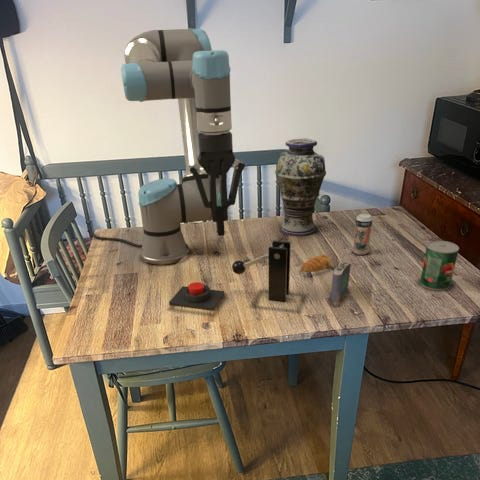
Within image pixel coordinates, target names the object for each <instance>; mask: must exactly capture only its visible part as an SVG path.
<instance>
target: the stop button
mask: <svg viewBox="0 0 480 480" xmlns="http://www.w3.org/2000/svg"><path fill="white" fill-rule="evenodd" d="M204 285H205V284H204V283H203V282H201V281H195V282H194V281H193V282H192V283H190V284H188V286H187V287H189V293H190V294H193V295H197V294H202V293H204Z"/></svg>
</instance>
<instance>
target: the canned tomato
mask: <svg viewBox="0 0 480 480" xmlns="http://www.w3.org/2000/svg"><path fill="white" fill-rule="evenodd" d="M459 250H460V247H459V246H458V245H457V244H456V243H454V242H451V241H446V240H432V241H429V242H427V244H426V249H425V253H424V259H423V264H422V269H421V274H420V279H419V284H420V285H421V286H422V287H423V288H425V289H428V290H432V291H446V290H448V289H449V288H451V284H452V280H453V277H454V272H455V267H456V262H457V258H458V255H459Z"/></svg>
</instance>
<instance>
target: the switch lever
mask: <svg viewBox="0 0 480 480" xmlns="http://www.w3.org/2000/svg"><path fill="white" fill-rule="evenodd" d="M277 247H281V248H285V246H284V244H282V245H279V246H277ZM266 260H269V252H268V253H266V254H263V255H261V256H258V257H256V258H253V259H250V260H248V261H245V262H244V261H243V260H236V261H234V262H233V263H232V265H231V270H232V272H233V273H234V274H236V275H243V274H244V273H245V272H246V270H247V268H248V267H251V266H253V265H256V264H259V263H260V262H264V261H266Z"/></svg>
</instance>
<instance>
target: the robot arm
mask: <svg viewBox="0 0 480 480" xmlns="http://www.w3.org/2000/svg"><path fill="white" fill-rule="evenodd" d="M229 58H230V55H229V53H228V51H226V50H223V49H221V50H219V49H217V50H215V49H214V50H213V49H212V44H211V41H210V38H209V35H208V34H207V32H206V31H205V30H204V29H202V28H191V27H187V28H175V29H174V28H173V29H151V30H147V31H144V32H142V33H140V34H137V35H136V36H134V37H133V38H132V39H130V41H128V43H127V44H126V47H125V50H124V64H122V65H121V68H120V70H121V79H122V87H123V91H124V98H125V100H127V101H128V102H140V103H142V102H149V101H163V100H177V104H178V112H179V120H180V128H181V130H180V131H181V137H182V138H181V139H182V146H183V153H184V154H183V155H184V162H185V171H186V172H185V173H184V175H182V179H181V180H182V183H177V181H176V180H175V179H174V178H160V179H156V180H152V181H149V182H146V183H145V184H143V185H142V186H140V188H139V189H138V195H137V196H138V206H139V209H140V215H141V216H140V217H141V223H142V230H143V238H142V243H141V244H138V243H134V242H131V241H129V240H126V239H123V238H118V237H104V236H98V235H96V234H95V233H94V232H93V230H92V229H91V228H88V229H87V231H86V233H90V234H91V236H92V237H94V238H95V239H98V240H108V241H117V242H123V243H126V244H128V245H130V246H132V247H133V246H134V247H137V248H141V249H140V257H141V260H142V261H143V262H145V263H147V264H150V265H153V266H155V265H156V266H165V265H172V264H176V263H179V262H180V261H181V260H182V259H183V258H184V257H185V256H189V255H190V248H189V245H188V243H187V242H186V240H185V237H184V234H183V232H182V228H181V224H185V223H196V222H206V221H209V222H210V221H212V222H213V223H215V225H216V227H215V228H216V233H217V236H218V237H221V236H226V235H225V233H226V232H225V222H227V221H228V220H229V211H228V209H229V207H231V206H234V205H235V204H236V201H237V196H238V190H239V185H240V180H241V175H242V172H243V171H244V169H245V167H246V164H245V163H244V162H243V161H242V160H239V159H237V158H236V156H235V154H234V149H233V147H234V146H233V133H232V132H231V130H232V128H233V126H232V125H233V124H232V123H233V122H232V103H231V102H232V101H231V100H232V99H231V66H230V59H229ZM231 168H233V172H232V178H231V183H230V188H229V193H228V183H227V182H228V180H227V179H228V173H229V171H230V169H231Z"/></svg>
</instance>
